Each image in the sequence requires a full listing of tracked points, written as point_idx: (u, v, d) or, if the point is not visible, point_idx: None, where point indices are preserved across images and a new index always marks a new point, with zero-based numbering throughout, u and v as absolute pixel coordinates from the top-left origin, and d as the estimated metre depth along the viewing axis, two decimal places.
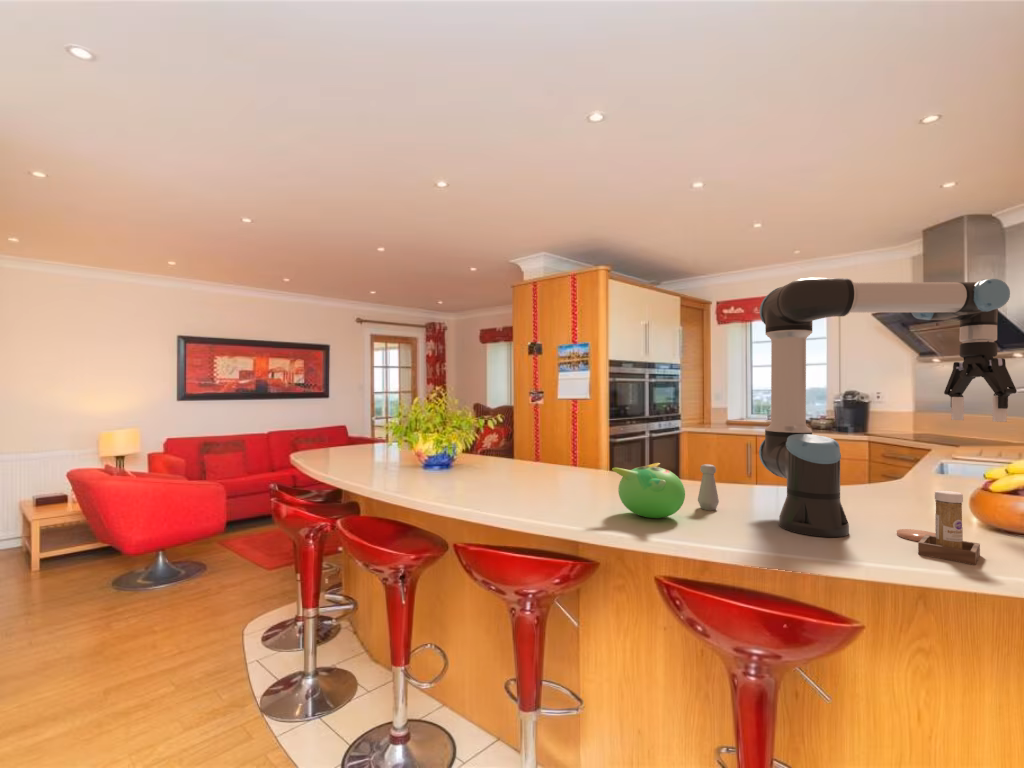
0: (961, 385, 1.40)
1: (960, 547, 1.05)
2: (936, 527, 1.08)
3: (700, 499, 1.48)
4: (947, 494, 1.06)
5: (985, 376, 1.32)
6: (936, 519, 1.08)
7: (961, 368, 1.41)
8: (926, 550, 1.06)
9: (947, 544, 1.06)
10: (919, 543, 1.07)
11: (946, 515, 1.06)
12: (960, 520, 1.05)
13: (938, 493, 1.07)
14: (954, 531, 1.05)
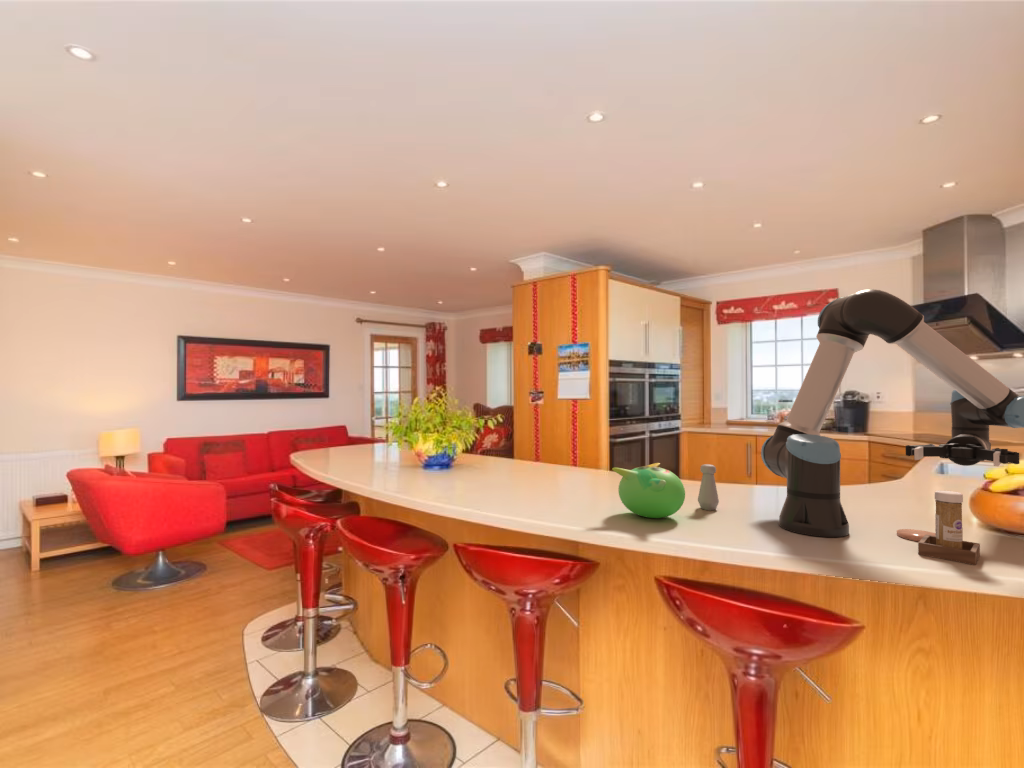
0: (934, 449, 1.24)
1: (960, 547, 1.05)
2: (936, 527, 1.08)
3: (700, 499, 1.48)
4: (947, 494, 1.06)
5: (983, 449, 1.19)
6: (936, 519, 1.08)
7: None
8: (926, 550, 1.06)
9: (947, 544, 1.06)
10: (919, 543, 1.07)
11: (946, 515, 1.06)
12: (960, 520, 1.05)
13: (938, 493, 1.07)
14: (954, 531, 1.05)
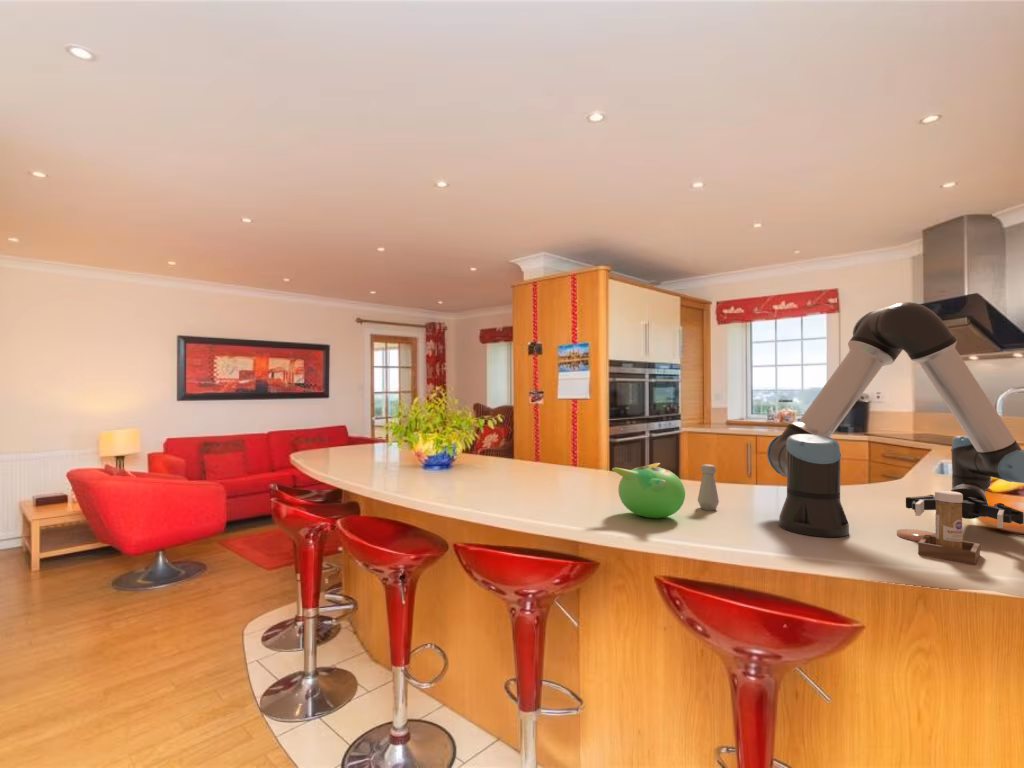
0: (935, 502, 1.20)
1: (960, 547, 1.05)
2: (936, 527, 1.08)
3: (700, 499, 1.48)
4: (947, 494, 1.06)
5: (986, 504, 1.15)
6: (936, 519, 1.08)
7: None
8: (926, 550, 1.06)
9: (947, 544, 1.06)
10: (919, 543, 1.07)
11: (946, 515, 1.06)
12: (960, 520, 1.05)
13: (938, 493, 1.07)
14: (954, 531, 1.05)
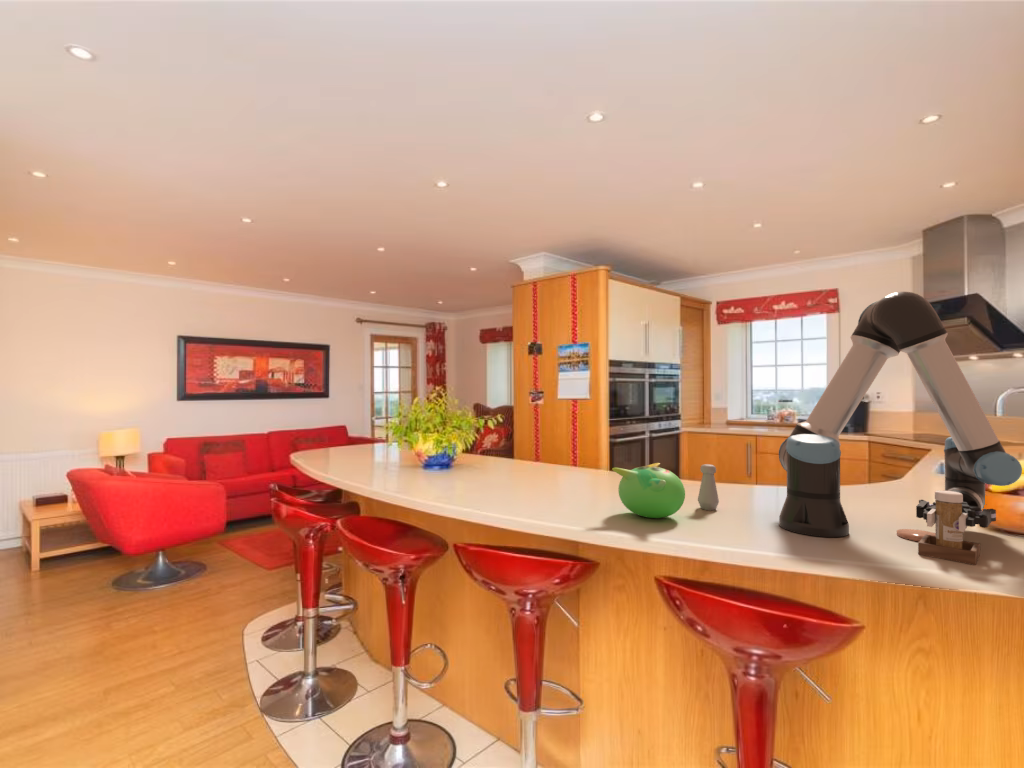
0: None
1: (960, 547, 1.05)
2: (936, 527, 1.08)
3: (700, 499, 1.48)
4: (947, 494, 1.06)
5: (967, 508, 1.11)
6: (936, 519, 1.08)
7: None
8: (926, 550, 1.06)
9: (947, 544, 1.06)
10: (919, 543, 1.07)
11: (946, 515, 1.06)
12: None
13: (938, 493, 1.07)
14: (954, 531, 1.05)
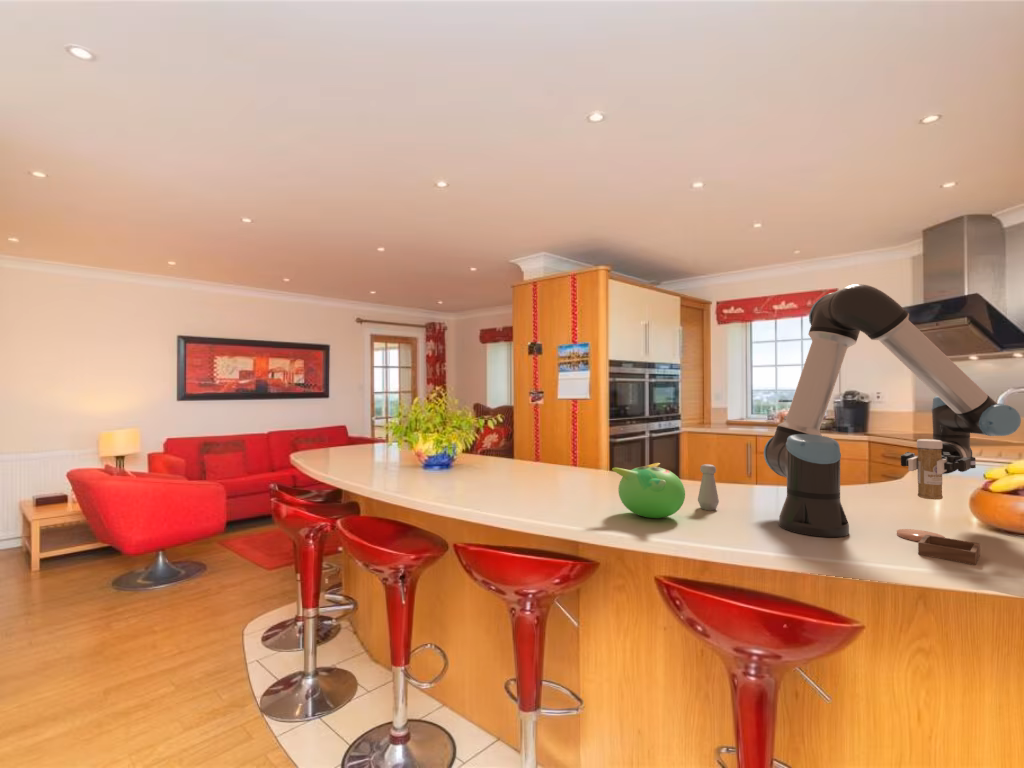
0: None
1: (940, 490, 1.14)
2: (918, 473, 1.16)
3: (700, 499, 1.48)
4: (927, 441, 1.14)
5: None
6: (918, 465, 1.16)
7: (915, 456, 1.26)
8: (926, 550, 1.06)
9: (927, 487, 1.14)
10: (919, 543, 1.07)
11: (927, 461, 1.14)
12: None
13: (919, 441, 1.16)
14: (933, 475, 1.14)
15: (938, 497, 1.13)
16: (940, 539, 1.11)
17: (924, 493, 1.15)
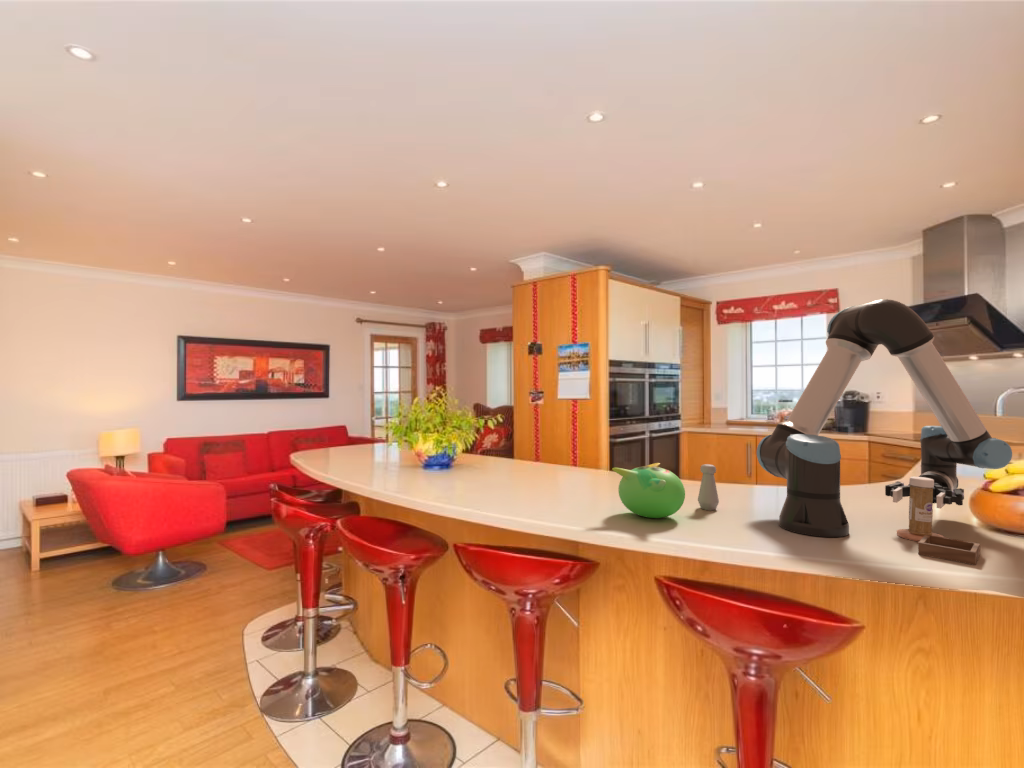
0: (909, 489, 1.26)
1: (930, 527, 1.18)
2: (909, 509, 1.20)
3: (700, 499, 1.48)
4: (920, 479, 1.18)
5: (940, 489, 1.23)
6: (910, 502, 1.20)
7: None
8: (926, 550, 1.06)
9: (918, 524, 1.18)
10: (919, 543, 1.07)
11: (918, 499, 1.18)
12: (931, 503, 1.18)
13: (912, 479, 1.20)
14: (924, 512, 1.18)
15: (928, 534, 1.18)
16: (940, 539, 1.11)
17: (914, 530, 1.19)
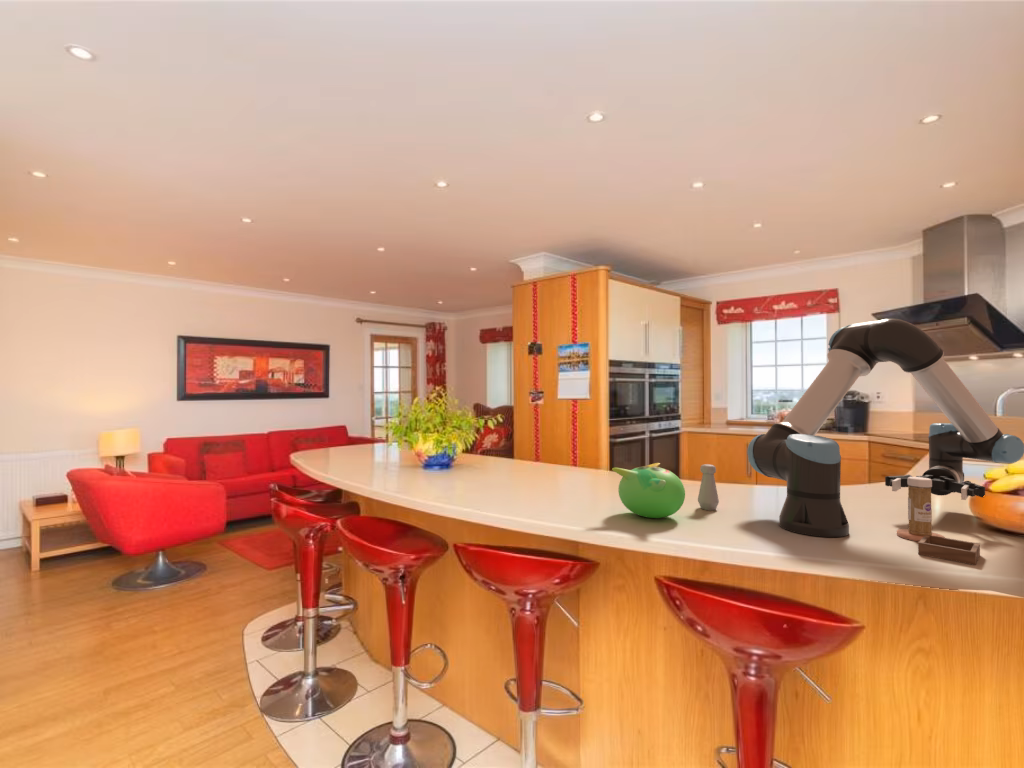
0: None
1: (929, 527, 1.18)
2: (908, 509, 1.21)
3: (700, 499, 1.48)
4: (917, 479, 1.18)
5: (954, 481, 1.31)
6: (908, 502, 1.21)
7: None
8: (926, 550, 1.06)
9: (918, 524, 1.18)
10: (919, 543, 1.07)
11: (917, 499, 1.19)
12: (929, 503, 1.18)
13: (910, 479, 1.20)
14: (923, 512, 1.18)
15: (928, 534, 1.18)
16: (940, 539, 1.11)
17: (914, 530, 1.19)
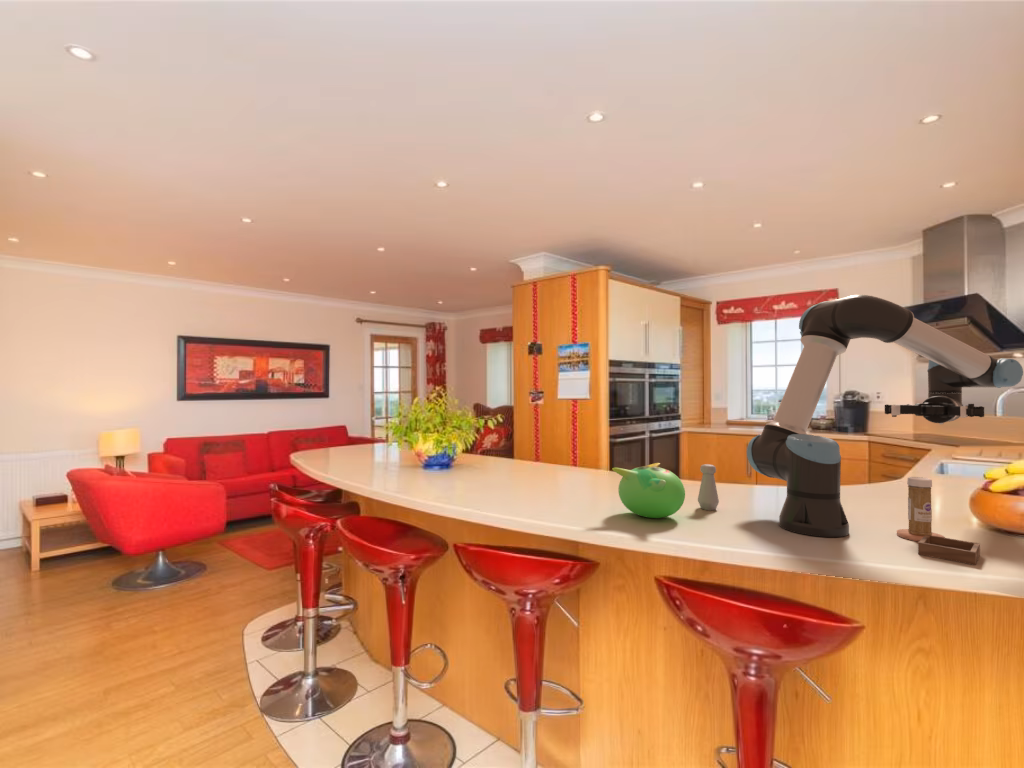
0: (910, 407, 1.37)
1: (929, 527, 1.18)
2: (908, 509, 1.21)
3: (700, 499, 1.48)
4: (917, 479, 1.18)
5: (953, 406, 1.32)
6: (908, 502, 1.21)
7: None
8: (926, 550, 1.06)
9: (918, 524, 1.18)
10: (919, 543, 1.07)
11: (917, 499, 1.19)
12: (929, 503, 1.18)
13: (910, 479, 1.20)
14: (923, 512, 1.18)
15: (928, 534, 1.18)
16: (940, 539, 1.11)
17: (914, 530, 1.19)
